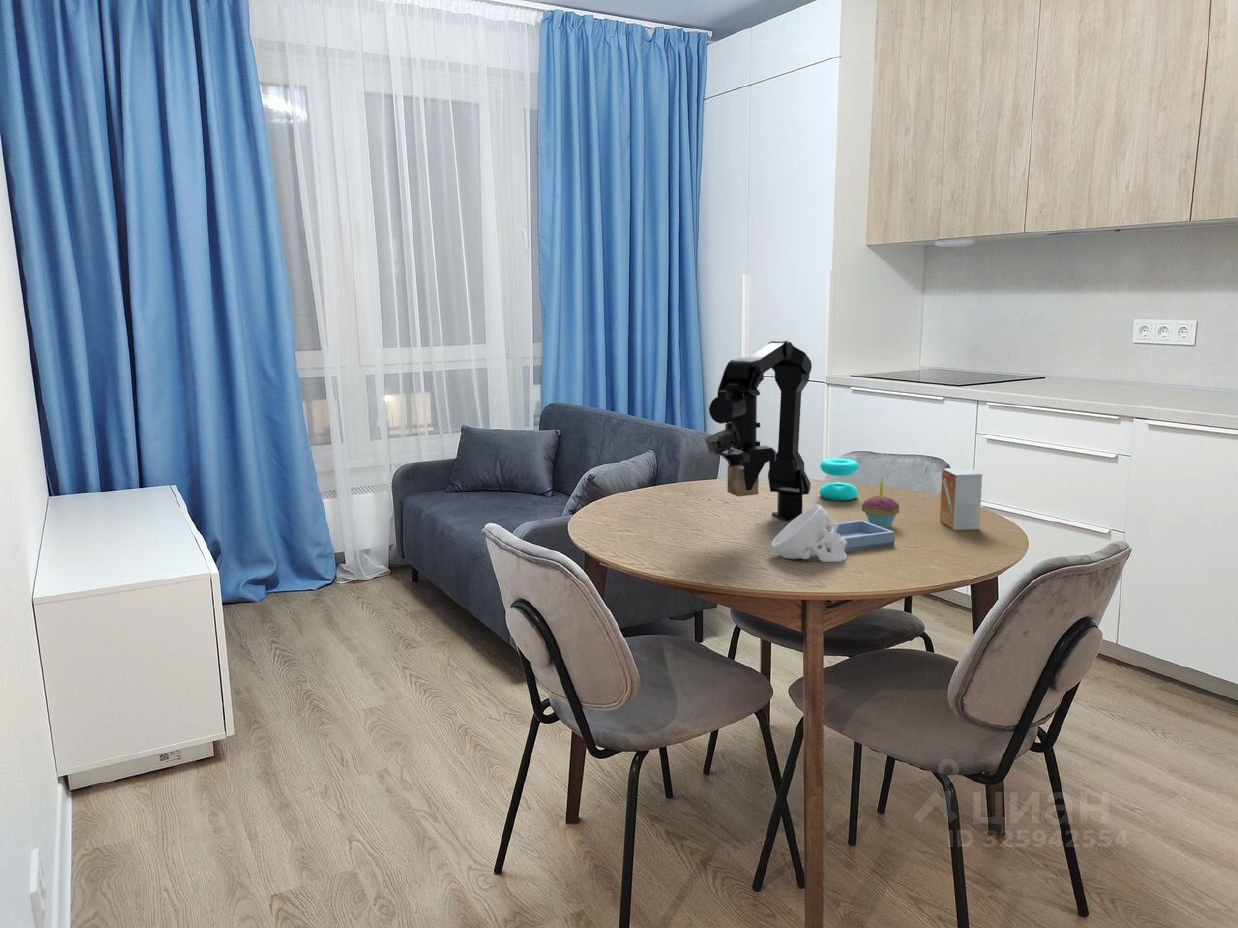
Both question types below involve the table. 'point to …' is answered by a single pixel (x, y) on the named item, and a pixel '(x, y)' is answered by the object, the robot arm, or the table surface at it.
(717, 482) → the table surface
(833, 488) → the donuts
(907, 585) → the table surface
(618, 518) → the table surface
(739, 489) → the block
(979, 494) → the small box
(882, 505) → the cupcake
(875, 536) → the tray
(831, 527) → the skull bowl
